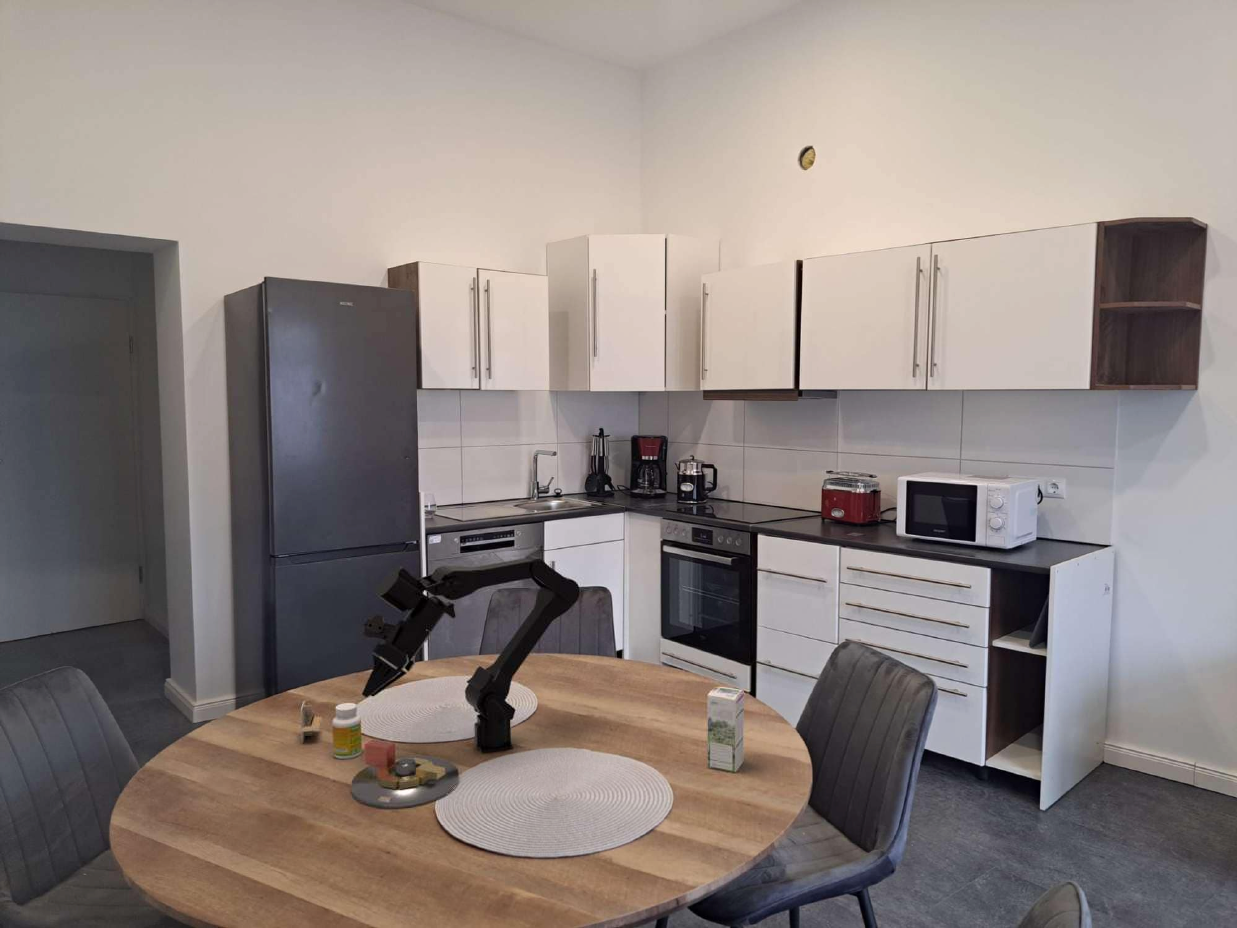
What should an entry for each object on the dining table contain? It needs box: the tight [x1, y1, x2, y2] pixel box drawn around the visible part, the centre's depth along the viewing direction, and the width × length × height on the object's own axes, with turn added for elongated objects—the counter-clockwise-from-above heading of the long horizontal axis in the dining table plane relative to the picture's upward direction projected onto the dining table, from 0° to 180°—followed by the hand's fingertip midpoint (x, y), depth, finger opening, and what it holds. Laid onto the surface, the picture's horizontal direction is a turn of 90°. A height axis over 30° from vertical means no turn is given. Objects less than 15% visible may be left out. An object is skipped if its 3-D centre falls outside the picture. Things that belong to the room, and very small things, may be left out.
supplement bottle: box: [331, 702, 363, 760], centre depth 168 cm, size 5×5×10 cm
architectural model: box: [300, 700, 322, 744], centre depth 176 cm, size 3×7×7 cm, turn 14°
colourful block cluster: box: [364, 739, 445, 789], centre depth 155 cm, size 13×13×5 cm
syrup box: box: [706, 685, 745, 773], centre depth 162 cm, size 6×6×14 cm
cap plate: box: [350, 755, 459, 810], centre depth 155 cm, size 19×19×4 cm
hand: (367, 695), depth 158 cm, fingers open, 9 cm apart
